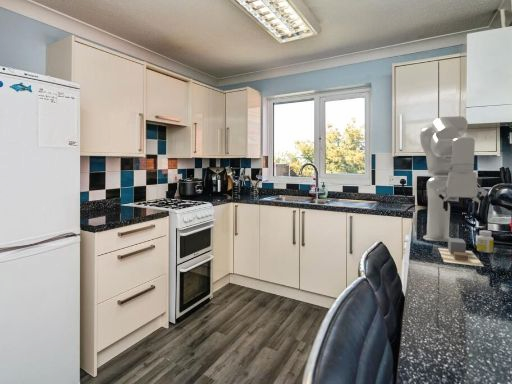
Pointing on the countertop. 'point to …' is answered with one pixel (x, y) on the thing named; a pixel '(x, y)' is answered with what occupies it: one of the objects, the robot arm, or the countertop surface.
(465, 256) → the walnut offcut
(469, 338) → the countertop surface
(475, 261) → the birch board
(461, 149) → the robot arm
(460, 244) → the block
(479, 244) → the supplement bottle
